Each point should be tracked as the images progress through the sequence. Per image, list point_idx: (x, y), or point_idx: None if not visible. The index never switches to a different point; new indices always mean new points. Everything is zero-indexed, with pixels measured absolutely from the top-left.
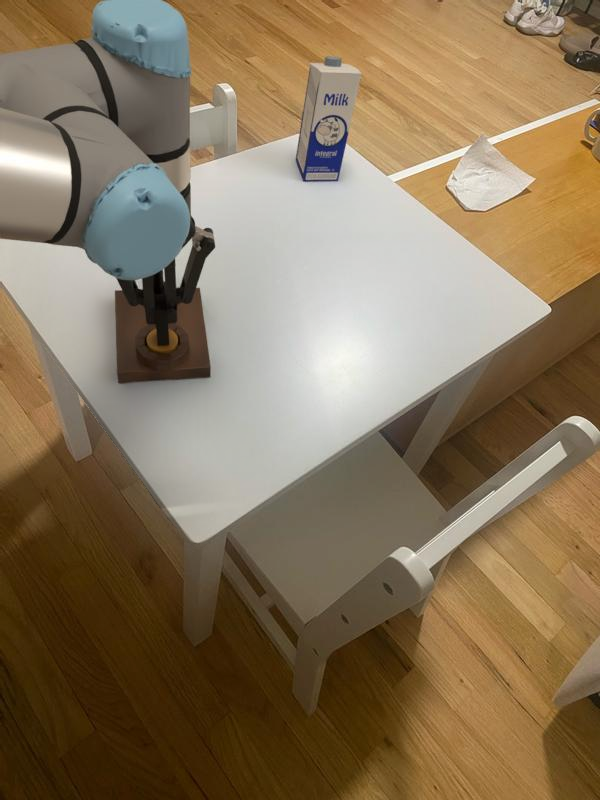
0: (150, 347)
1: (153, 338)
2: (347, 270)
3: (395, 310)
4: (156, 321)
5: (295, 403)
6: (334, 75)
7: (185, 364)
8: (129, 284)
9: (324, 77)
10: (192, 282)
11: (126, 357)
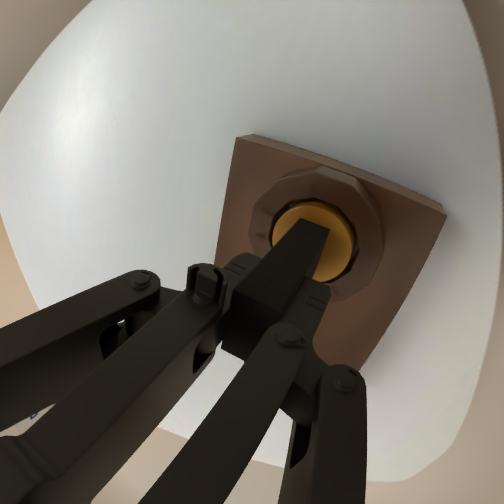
0: (349, 235)
1: (330, 258)
2: (60, 253)
3: (33, 178)
4: (298, 276)
5: (140, 44)
6: (17, 425)
7: (286, 165)
8: (316, 489)
9: (23, 431)
10: (49, 323)
11: (407, 248)
